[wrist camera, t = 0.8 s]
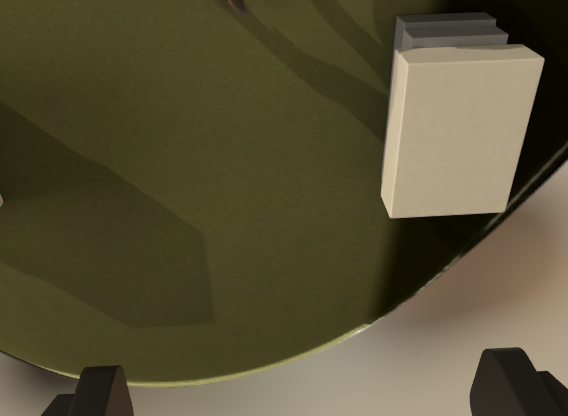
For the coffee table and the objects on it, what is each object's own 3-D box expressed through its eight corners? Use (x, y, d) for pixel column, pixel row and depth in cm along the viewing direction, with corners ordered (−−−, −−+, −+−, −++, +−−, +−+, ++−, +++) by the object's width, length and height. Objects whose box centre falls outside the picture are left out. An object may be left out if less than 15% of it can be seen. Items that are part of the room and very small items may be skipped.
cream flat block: (394, 48, 24) (407, 64, 22) (522, 43, 24) (545, 58, 22) (380, 196, 28) (389, 218, 26) (488, 190, 28) (505, 212, 27)
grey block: (396, 15, 26) (412, 31, 23) (484, 11, 26) (510, 27, 23) (380, 183, 31) (392, 211, 29) (453, 179, 31) (471, 206, 29)
